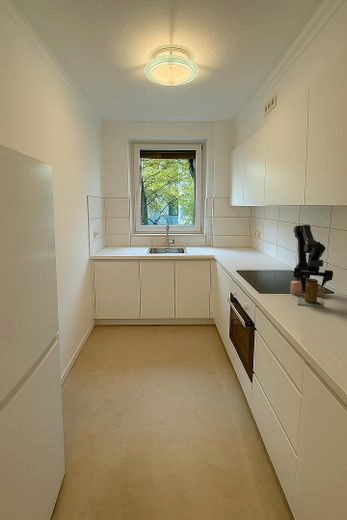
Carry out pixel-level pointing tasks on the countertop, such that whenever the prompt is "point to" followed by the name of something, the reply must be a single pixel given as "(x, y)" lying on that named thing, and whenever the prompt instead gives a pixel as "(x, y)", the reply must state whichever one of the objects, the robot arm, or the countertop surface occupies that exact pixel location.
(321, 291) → the walnut block
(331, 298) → the countertop surface
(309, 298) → the condiment
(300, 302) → the slate mat
